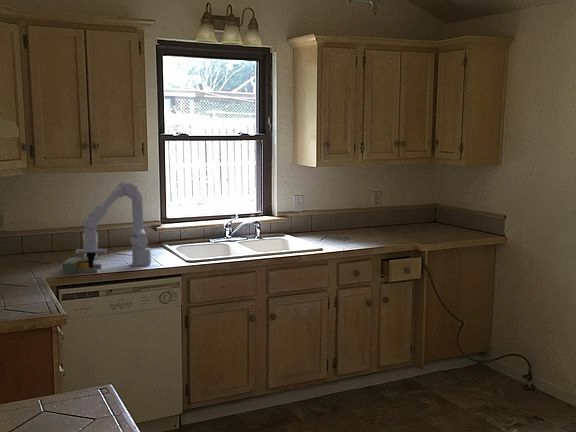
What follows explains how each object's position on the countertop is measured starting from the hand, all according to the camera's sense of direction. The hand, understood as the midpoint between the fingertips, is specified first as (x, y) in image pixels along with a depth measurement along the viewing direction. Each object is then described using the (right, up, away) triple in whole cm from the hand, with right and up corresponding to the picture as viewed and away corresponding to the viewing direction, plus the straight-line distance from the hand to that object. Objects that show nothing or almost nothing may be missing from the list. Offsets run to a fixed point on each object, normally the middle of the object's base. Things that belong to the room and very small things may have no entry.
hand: (91, 267), depth 306 cm
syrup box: (-9, +2, +26) cm, 28 cm away
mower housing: (-4, -1, 0) cm, 5 cm away
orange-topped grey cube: (-3, -1, +1) cm, 3 cm away
